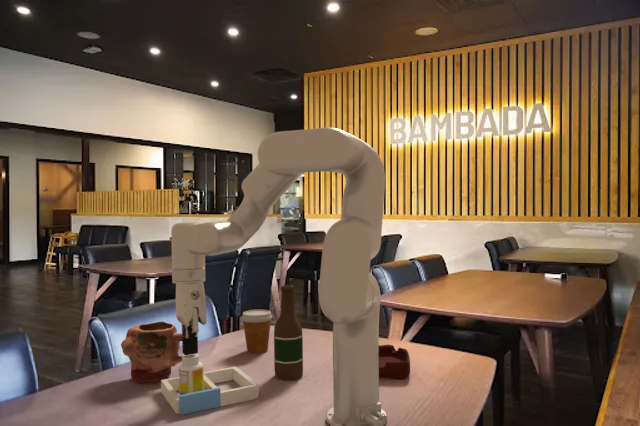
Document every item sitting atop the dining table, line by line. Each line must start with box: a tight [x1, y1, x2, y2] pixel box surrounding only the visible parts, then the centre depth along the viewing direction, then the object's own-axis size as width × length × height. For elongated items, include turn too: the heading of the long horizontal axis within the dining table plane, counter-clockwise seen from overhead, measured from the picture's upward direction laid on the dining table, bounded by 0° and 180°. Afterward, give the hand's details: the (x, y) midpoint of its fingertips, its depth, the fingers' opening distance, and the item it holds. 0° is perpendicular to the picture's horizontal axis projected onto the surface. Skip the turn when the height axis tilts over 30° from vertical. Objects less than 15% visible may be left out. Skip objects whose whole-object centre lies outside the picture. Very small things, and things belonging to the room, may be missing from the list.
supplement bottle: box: [178, 353, 204, 395], centre depth 118 cm, size 6×6×10 cm
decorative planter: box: [120, 321, 185, 385], centre depth 133 cm, size 20×12×14 cm, turn 86°
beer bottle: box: [273, 284, 304, 382], centre depth 133 cm, size 8×8×24 cm
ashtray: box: [378, 344, 411, 380], centre depth 135 cm, size 18×16×5 cm
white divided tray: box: [160, 366, 259, 416], centre depth 121 cm, size 16×19×4 cm
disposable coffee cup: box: [241, 309, 273, 355], centre depth 157 cm, size 10×10×12 cm
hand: (190, 353), depth 118 cm, fingers closed
